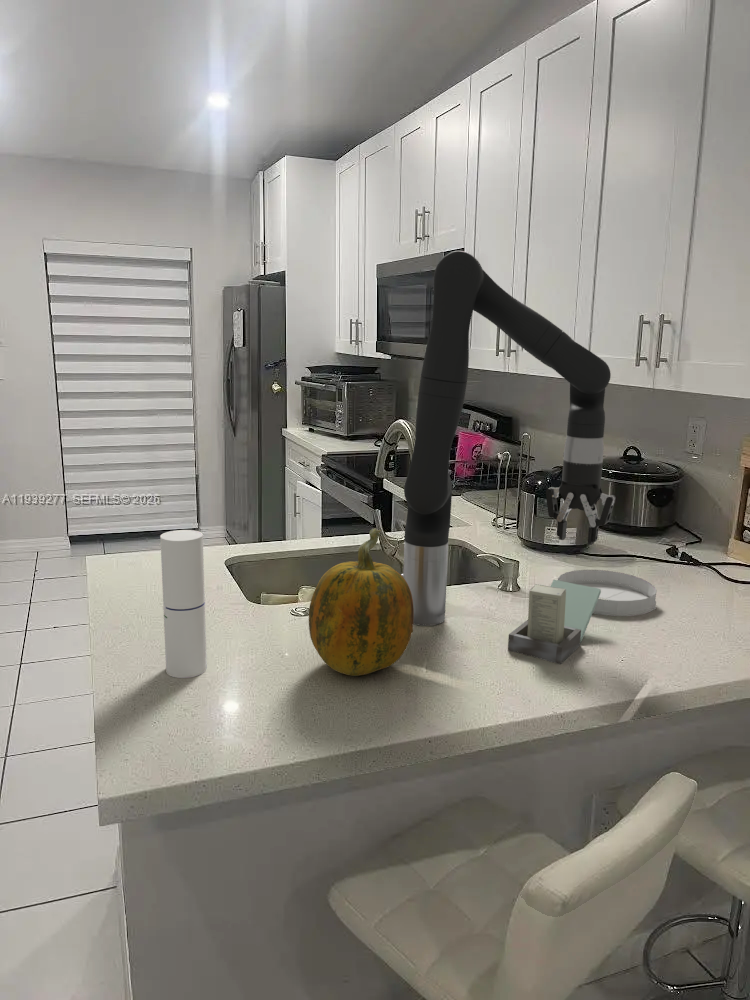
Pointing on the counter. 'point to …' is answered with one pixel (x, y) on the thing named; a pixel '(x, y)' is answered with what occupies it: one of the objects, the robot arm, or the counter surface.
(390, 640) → the pumpkin
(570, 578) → the dish
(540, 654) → the dark grey tray
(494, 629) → the counter surface
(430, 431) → the robot arm
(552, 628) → the skincare box
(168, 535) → the cylindrical container
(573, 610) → the open box lid
